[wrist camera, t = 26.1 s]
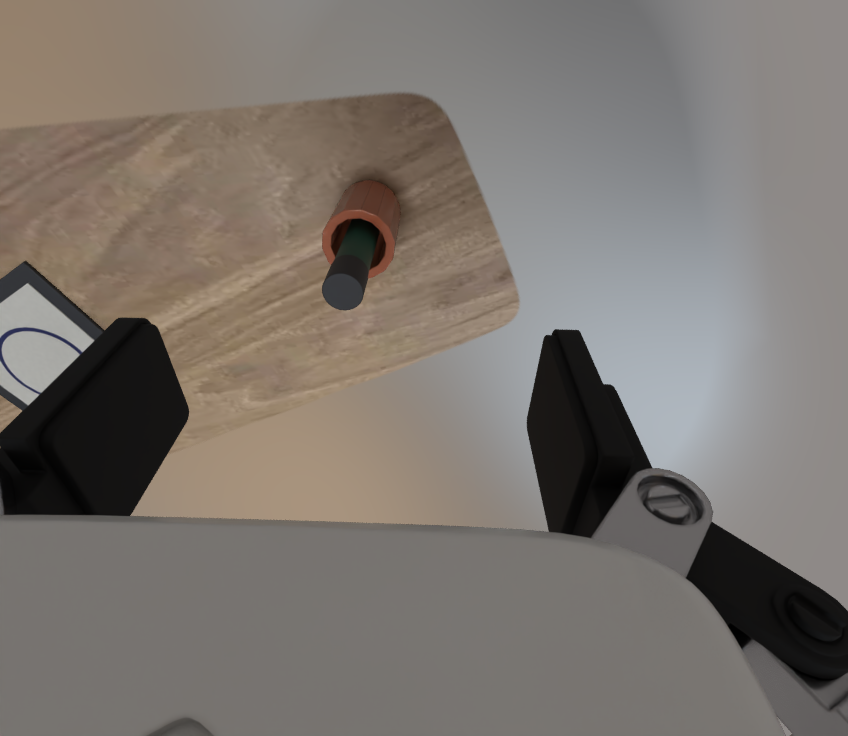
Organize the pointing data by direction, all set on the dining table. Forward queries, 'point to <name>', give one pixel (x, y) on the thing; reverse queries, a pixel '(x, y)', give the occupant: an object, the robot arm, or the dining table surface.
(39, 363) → the target board
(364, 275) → the marker
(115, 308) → the dining table surface
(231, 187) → the dining table surface
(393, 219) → the pen pot
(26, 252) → the dining table surface
